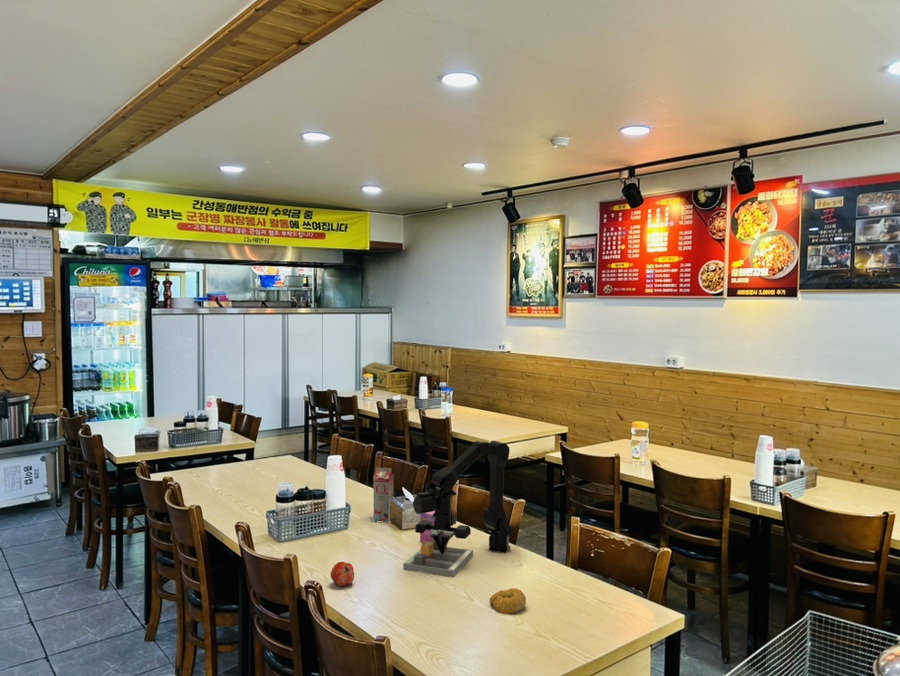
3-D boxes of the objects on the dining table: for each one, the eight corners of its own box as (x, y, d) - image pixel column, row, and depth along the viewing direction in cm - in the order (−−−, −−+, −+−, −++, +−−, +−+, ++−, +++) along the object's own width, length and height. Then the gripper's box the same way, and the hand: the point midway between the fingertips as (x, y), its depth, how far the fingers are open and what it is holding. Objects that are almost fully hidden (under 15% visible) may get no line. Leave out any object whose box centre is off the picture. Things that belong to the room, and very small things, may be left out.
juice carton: (388, 522, 264) (389, 470, 263) (373, 521, 265) (373, 469, 264) (393, 518, 270) (393, 466, 269) (378, 517, 271) (378, 465, 271)
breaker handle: (433, 552, 224) (433, 542, 224) (428, 556, 220) (428, 546, 220) (425, 551, 225) (425, 541, 225) (420, 555, 221) (420, 544, 221)
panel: (472, 556, 227) (472, 543, 227) (453, 577, 208) (453, 563, 208) (426, 549, 234) (426, 537, 233) (403, 569, 215) (403, 556, 215)
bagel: (500, 595, 195) (501, 580, 195) (532, 606, 188) (532, 590, 188) (482, 608, 187) (482, 592, 187) (514, 619, 180) (514, 602, 180)
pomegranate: (327, 591, 203) (335, 581, 195) (326, 568, 207) (334, 557, 200) (350, 590, 206) (358, 580, 198) (348, 567, 210) (357, 556, 203)
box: (431, 545, 237) (431, 514, 237) (419, 542, 241) (419, 511, 240) (448, 538, 246) (448, 507, 245) (436, 535, 249) (436, 505, 249)
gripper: (475, 505, 224) (475, 549, 225) (427, 500, 231) (427, 542, 231) (465, 514, 214) (465, 560, 214) (414, 508, 221) (414, 553, 221)
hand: (442, 553), depth 221 cm, fingers closed
